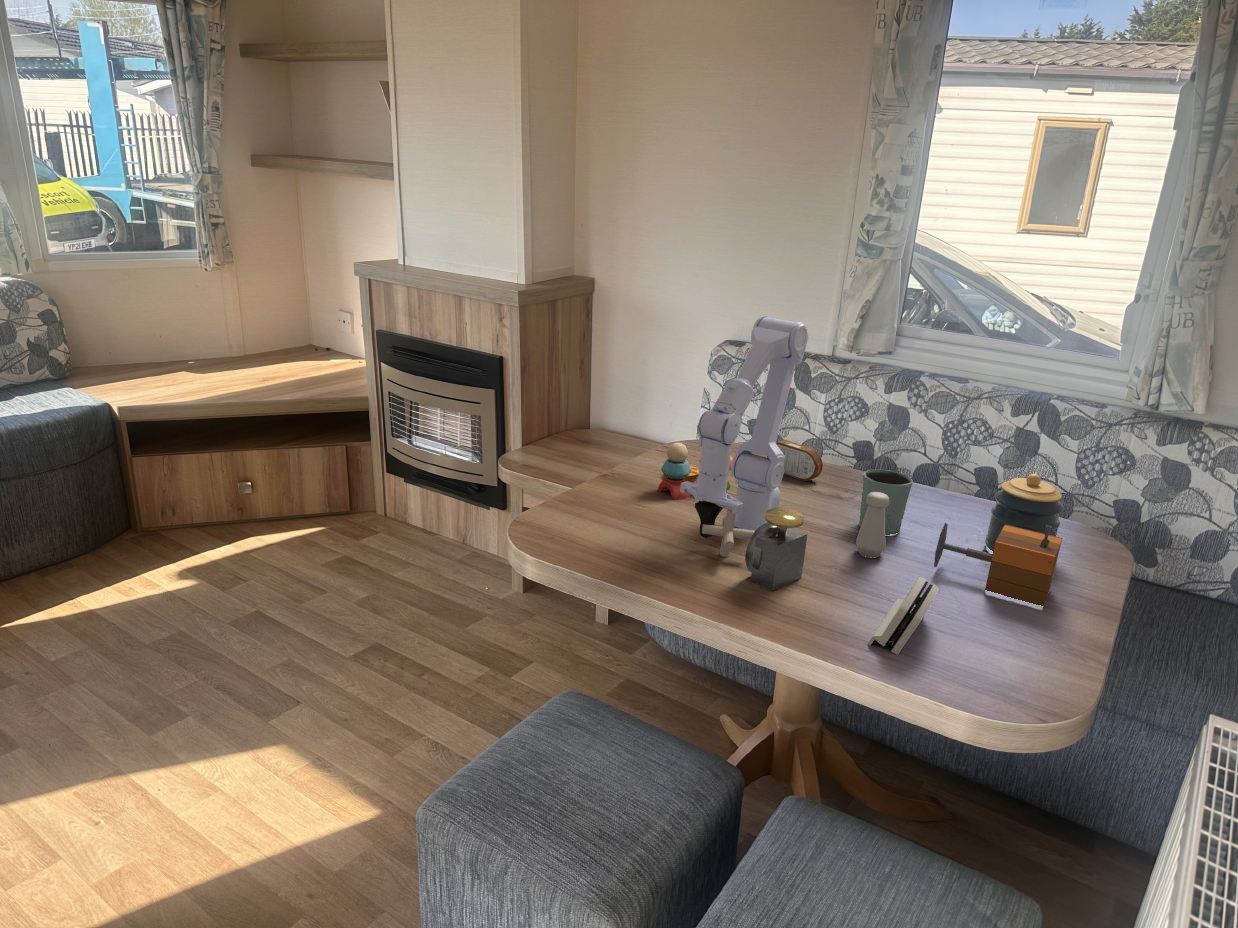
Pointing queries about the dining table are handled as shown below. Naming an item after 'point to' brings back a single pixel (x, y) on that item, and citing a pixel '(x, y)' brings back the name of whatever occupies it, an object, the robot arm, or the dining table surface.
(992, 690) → the dining table surface
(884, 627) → the beige slotted block
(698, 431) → the robot arm
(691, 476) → the colourful wooden stacking toy
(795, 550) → the kitchen scale
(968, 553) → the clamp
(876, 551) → the salt shaker
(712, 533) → the pipe connector
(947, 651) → the dining table surface
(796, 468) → the tin
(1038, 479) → the canister
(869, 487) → the green cup
